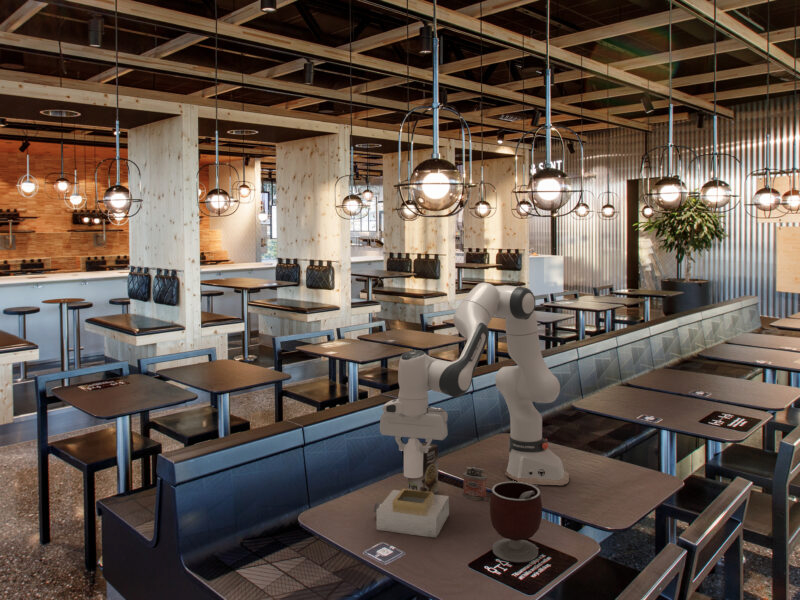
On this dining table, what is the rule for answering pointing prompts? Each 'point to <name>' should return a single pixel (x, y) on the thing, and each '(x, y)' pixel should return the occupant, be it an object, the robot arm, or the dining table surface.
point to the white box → (412, 512)
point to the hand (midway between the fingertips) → (413, 451)
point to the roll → (413, 459)
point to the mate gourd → (515, 519)
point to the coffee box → (427, 472)
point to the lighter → (474, 483)
